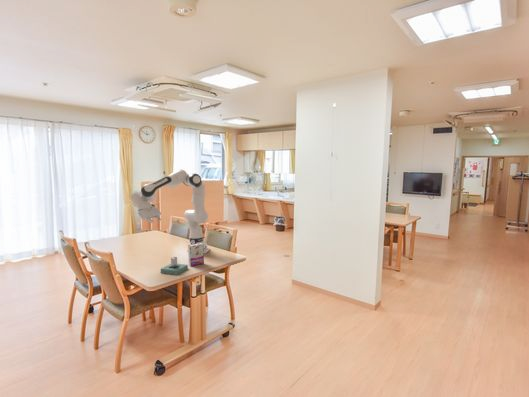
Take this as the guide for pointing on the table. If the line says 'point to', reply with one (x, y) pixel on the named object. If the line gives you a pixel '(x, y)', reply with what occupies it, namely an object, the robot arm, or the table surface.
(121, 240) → the table surface
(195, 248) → the candy bar box
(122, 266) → the table surface
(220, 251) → the table surface
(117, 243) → the table surface
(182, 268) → the block
